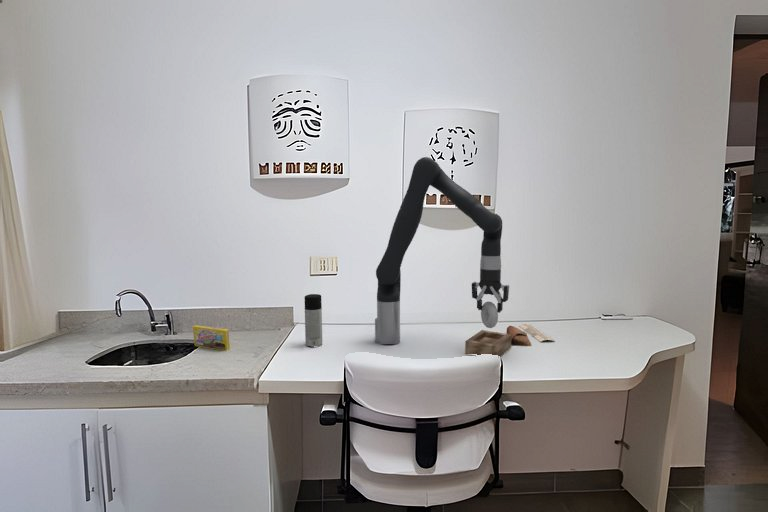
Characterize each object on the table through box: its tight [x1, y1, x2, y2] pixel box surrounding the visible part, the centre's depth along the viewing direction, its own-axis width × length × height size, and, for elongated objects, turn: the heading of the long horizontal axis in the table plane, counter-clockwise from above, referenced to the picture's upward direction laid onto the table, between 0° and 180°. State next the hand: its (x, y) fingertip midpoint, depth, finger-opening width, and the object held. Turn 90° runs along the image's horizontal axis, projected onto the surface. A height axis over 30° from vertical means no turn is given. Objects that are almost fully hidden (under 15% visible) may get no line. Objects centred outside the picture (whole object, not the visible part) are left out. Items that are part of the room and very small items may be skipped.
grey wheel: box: [480, 301, 499, 329], centre depth 169 cm, size 10×3×10 cm, turn 13°
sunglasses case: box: [506, 325, 532, 347], centre depth 184 cm, size 18×7×7 cm
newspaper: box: [518, 323, 556, 343], centre depth 192 cm, size 24×7×2 cm, turn 4°
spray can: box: [304, 293, 323, 348], centre depth 177 cm, size 7×7×20 cm
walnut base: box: [464, 329, 512, 358], centre depth 170 cm, size 12×17×5 cm
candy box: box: [192, 324, 231, 351], centre depth 174 cm, size 16×2×8 cm, turn 68°
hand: (489, 310), depth 169 cm, fingers closed on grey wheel, 7 cm apart
